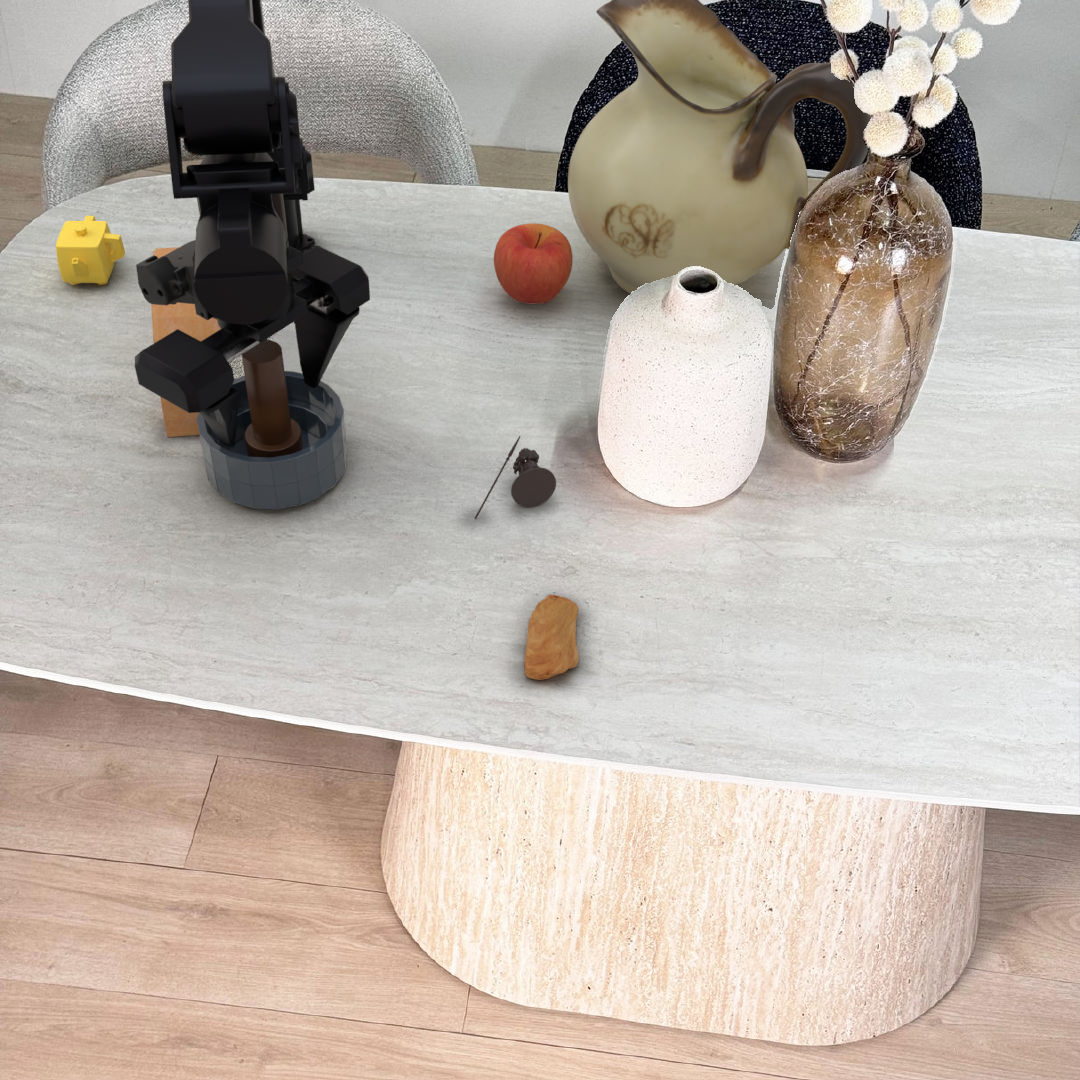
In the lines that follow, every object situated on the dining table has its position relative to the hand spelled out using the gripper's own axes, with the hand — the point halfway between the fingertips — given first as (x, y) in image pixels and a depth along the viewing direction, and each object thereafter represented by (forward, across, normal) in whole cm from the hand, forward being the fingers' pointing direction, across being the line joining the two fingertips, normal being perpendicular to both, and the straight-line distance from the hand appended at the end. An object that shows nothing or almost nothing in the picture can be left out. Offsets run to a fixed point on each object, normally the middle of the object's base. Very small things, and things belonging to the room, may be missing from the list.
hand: (270, 413), depth 99 cm
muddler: (+5, 0, 0) cm, 5 cm away
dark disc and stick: (+3, -9, +19) cm, 21 cm away
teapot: (+6, -9, -32) cm, 34 cm away
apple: (+6, -32, +2) cm, 33 cm away
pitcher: (+6, -46, +10) cm, 47 cm away
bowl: (+6, 0, 0) cm, 6 cm away
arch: (+6, -6, -15) cm, 17 cm away
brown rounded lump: (+4, +2, +26) cm, 26 cm away
